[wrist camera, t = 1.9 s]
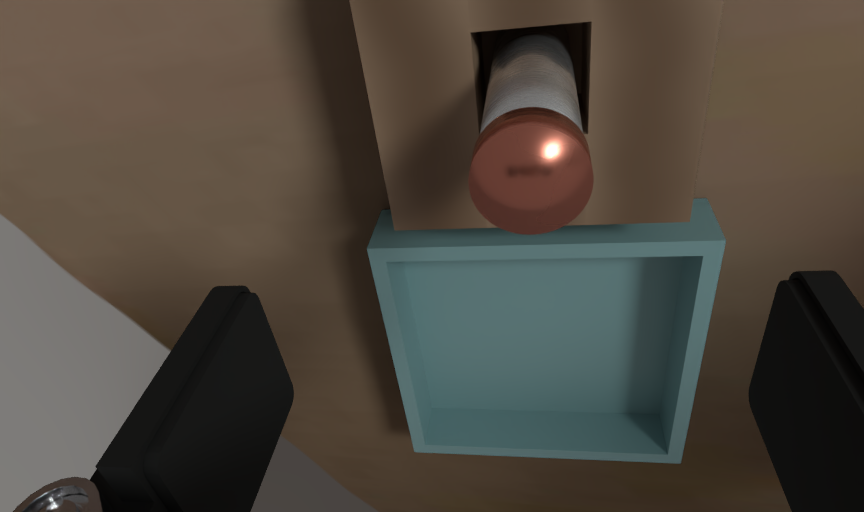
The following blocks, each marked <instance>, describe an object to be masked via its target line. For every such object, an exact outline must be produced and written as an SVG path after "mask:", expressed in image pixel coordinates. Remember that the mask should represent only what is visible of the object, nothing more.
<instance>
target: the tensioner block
mask: <svg viewBox="0 0 864 512" xmlns="http://www.w3.org/2000/svg"><path fill="white" fill-rule="evenodd" d="M349 2H350V7H351V12H352V17H353V22H354V27H355V32H356V37H357V42H358V47H359V52H360V57H361V62H362V68H363V73H364V78H365V83H366V88H367V93H368V98H369V103H370V108H371V113H372V118H373V123H374V128H375V134H376V139H377V144H378V149H379V154H380V159H381V164H382V169H383V174H384V179H385V184H386V189H387V195H388V200H389V205H390V210H391V215H392V220H393V225H394V230H395V231H396V230H431V229H466V228H499V227H497V226H495V225H493V224H492V223H490V222H489V221H488V220H487V219H485V218H484V217H483V216H482V215H481V213H480V212H479V211H478V210H477V208H476V207H475V205H474V203H473V201H472V198H471V195H470V192H469V184H468V178H469V171H470V166H471V160H472V155H473V150H474V146H475V143H476V141H477V139H478V137H479V135H480V130H481V124H482V118H483V113H484V107H485V101H486V95H487V90H488V84H489V78H490V72H491V66H492V61H493V55H494V49H495V43H496V39H497V37H498V34H499V32H500V30H503V29H514V28H525V27H536V26H547V25H558V24H562V25H563V26H564V28H565V30H566V32H567V34H568V38H569V43H570V50H571V57H572V63H573V70H574V77H575V83H576V90H577V97H578V103H579V110H580V116H581V123H582V130H583V134H584V136H585V138H586V140H587V143H588V146H589V151H590V156H591V163H592V169H593V178H594V182H593V190H592V193H591V196H590V199H589V201H588V203H587V205H586V206H585V208H584V209H583V210H582V212H581V213H580V214H579V215H578V216H577V217H576V218H575V219H574V220H572V221H571V222H570V223H568V224H567V225H565V226H570V225H605V224H639V223H674V222H690V218H691V211H692V205H693V198H694V192H695V185H696V179H697V173H698V166H699V160H700V153H701V147H702V140H703V134H704V128H705V121H706V115H707V108H708V102H709V95H710V89H711V82H712V76H713V70H714V63H715V57H716V50H717V44H718V37H719V31H720V25H721V18H722V12H723V5H724V0H349Z"/></svg>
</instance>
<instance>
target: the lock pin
mask: <svg viewBox="0 0 864 512" xmlns="http://www.w3.org/2000/svg"><path fill="white" fill-rule="evenodd" d="M593 182H594V178H593V169H592V163H591V156H590V151H589V146H588V143H587V140H586V138H585V136H584V134H583V130H582V123H581V116H580V110H579V103H578V97H577V90H576V83H575V77H574V70H573V63H572V57H571V50H570V43H569V38H568V34H567V32H566V30H565V28H564V26H563V25H562V24H558V25H547V26H536V27H525V28H514V29H503V30H500V32H499V34H498V37H497V39H496V43H495V49H494V55H493V61H492V66H491V72H490V78H489V84H488V90H487V95H486V101H485V107H484V113H483V118H482V124H481V130H480V135H479V137H478V139H477V141H476V143H475V146H474V150H473V155H472V160H471V166H470V171H469V178H468V184H469V192H470V195H471V198H472V201H473V203H474V205H475V207H476V208H477V210H478V211H479V212H480V213H481V215H482V216H483V217H484V218H485V219H487V220H488V221H489V222H490V223H492V224H493V225H495V226H497V227H499V228H501V229H503V230H506V231H508V232H512V233H516V234H523V235H535V234H543V233H548V232H551V231H554V230H557V229H559V228H561V227H563V226H565V225H567V224H568V223H570V222H571V221H572V220H574V219H575V218H576V217H577V216H578V215H579V214H580V213H581V212H582V210H583V209H584V208H585V206H586V205H587V203H588V201H589V199H590V196H591V193H592V190H593Z"/></svg>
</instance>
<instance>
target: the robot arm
mask: <svg viewBox="0 0 864 512" xmlns="http://www.w3.org/2000/svg"><path fill="white" fill-rule="evenodd" d="M293 397H294V390H293V385H292V382H291V380H290V377H289V374H288V372H287V369H286V367H285V364H284V362H283V359H282V356H281V354H280V351H279V349H278V346H277V343H276V341H275V338H274V336H273V333H272V331H271V328H270V325H269V323H268V320H267V318H266V315H265V313H264V310H263V307H262V305H261V302H260V300H259V297H258V296H257V295H256V294H255V293H251V292H250V291H249V289H248V288H247V287H246V286H217V287H214V288H213V289H212V290H211V291H210V293H209V294H208V296H207V297H206V299H205V300H204V302H203V303H202V305H201V306H200V308H199V309H198V311H197V312H196V314H195V316H194V317H193V319H192V320H191V322H190V323H189V325H188V326H187V328H186V329H185V331H184V332H183V334H182V335H181V337H180V338H179V340H178V341H177V343H176V344H175V346H174V348H173V349H172V351H171V352H170V354H169V355H168V357H167V358H166V360H165V361H164V363H163V364H162V366H161V367H160V369H159V371H158V372H157V373H156V375H155V377H154V378H153V380H152V381H151V383H150V384H149V386H148V387H147V389H146V390H145V392H144V393H143V395H142V396H141V398H140V400H139V401H138V402H137V404H136V405H135V407H134V409H133V410H132V412H131V413H130V415H129V416H128V418H127V419H126V421H125V422H124V424H123V425H122V427H121V429H120V430H119V431H118V433H117V435H116V436H115V438H114V439H113V441H112V442H111V444H110V445H109V447H108V448H107V450H106V451H105V453H104V454H103V456H102V458H101V459H100V460H99V462H98V464H97V465H96V468H97V470H96V471H95V473H94V474H93V476H92V477H91V479H90V480H88V479H86V478H79V477H71V478H65V479H60V480H58V481H55V482H53V483H50V484H48V485H46V486H44V487H42V488H41V489H39V490H38V491H36V492H34V493H33V494H31V495H30V496H29V497H28V498H26V500H24V501H23V502H22V503H21V504H20V505H19V506H17V508H16V509H15V510H14V511H13V512H250V511H251V509H252V506H253V503H254V501H255V498H256V496H257V493H258V491H259V488H260V486H261V483H262V480H263V478H264V475H265V472H266V470H267V467H268V465H269V462H270V460H271V457H272V455H273V452H274V449H275V447H276V444H277V442H278V439H279V437H280V434H281V431H282V429H283V426H284V424H285V421H286V419H287V416H288V413H289V411H290V408H291V406H292V402H293ZM749 402H750V407H751V410H752V413H753V415H754V418H755V420H756V423H757V425H758V428H759V430H760V433H761V435H762V438H763V440H764V443H765V445H766V448H767V450H768V453H769V455H770V458H771V460H772V463H773V465H774V468H775V470H776V473H777V475H778V478H779V480H780V483H781V486H782V488H783V491H784V493H785V496H786V498H787V501H788V503H789V506H790V508H791V511H792V512H864V309H863V308H862V306H861V305H860V304H859V302H858V301H857V299H856V298H855V297H854V295H853V294H852V292H851V291H850V290H849V288H848V287H847V285H846V284H845V282H844V281H843V280H842V278H841V277H840V276H839V275H838V274H837V273H836V272H834V271H796V272H793V273H792V274H791V276H790V278H789V280H783V281H780V283H779V284H778V286H777V289H776V293H775V297H774V300H773V304H772V307H771V311H770V315H769V318H768V322H767V325H766V329H765V333H764V336H763V340H762V343H761V347H760V351H759V354H758V358H757V361H756V365H755V369H754V372H753V376H752V379H751V383H750V387H749Z"/></svg>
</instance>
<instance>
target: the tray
mask: <svg viewBox="0 0 864 512" xmlns="http://www.w3.org/2000/svg"><path fill="white" fill-rule="evenodd" d="M725 243H726V239H725V237H724V235H723V233H722V230H721V228H720V226H719V224H718V222H717V219H716V217H715V215H714V213H713V211H712V208H711V206H710V204H709V202H708V200H707V198H700V199H693V205H692V211H691V218H690V222H674V223H639V224H605V225H570V226H563V227H561V228H559V229H557V230H554V231H551V232H548V233H543V234H535V235H523V234H516V233H512V232H508V231H506V230H503V229H501V228H466V229H431V230H396V231H395V230H394V225H393V220H392V215H391V210H382V211H381V213H380V216H379V218H378V221H377V223H376V226H375V229H374V231H373V234H372V236H371V239H370V242H369V244H368V247H367V252H368V256H369V260H370V265H371V269H372V273H373V277H374V282H375V286H376V290H377V294H378V299H379V303H380V307H381V311H382V316H383V320H384V324H385V328H386V333H387V337H388V341H389V345H390V350H391V354H392V358H393V362H394V367H395V371H396V375H397V379H398V384H399V388H400V392H401V396H402V401H403V405H404V409H405V413H406V418H407V422H408V426H409V430H410V435H411V439H412V443H413V447H414V452H423V453H447V454H470V455H493V456H516V457H539V458H563V459H586V460H609V461H632V462H656V463H679V464H681V460H682V455H683V450H684V445H685V440H686V435H687V431H688V426H689V421H690V416H691V411H692V406H693V401H694V396H695V391H696V386H697V381H698V376H699V371H700V366H701V361H702V357H703V352H704V347H705V342H706V337H707V332H708V327H709V322H710V317H711V312H712V307H713V302H714V297H715V292H716V288H717V283H718V278H719V273H720V268H721V263H722V258H723V253H724V248H725Z"/></svg>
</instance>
